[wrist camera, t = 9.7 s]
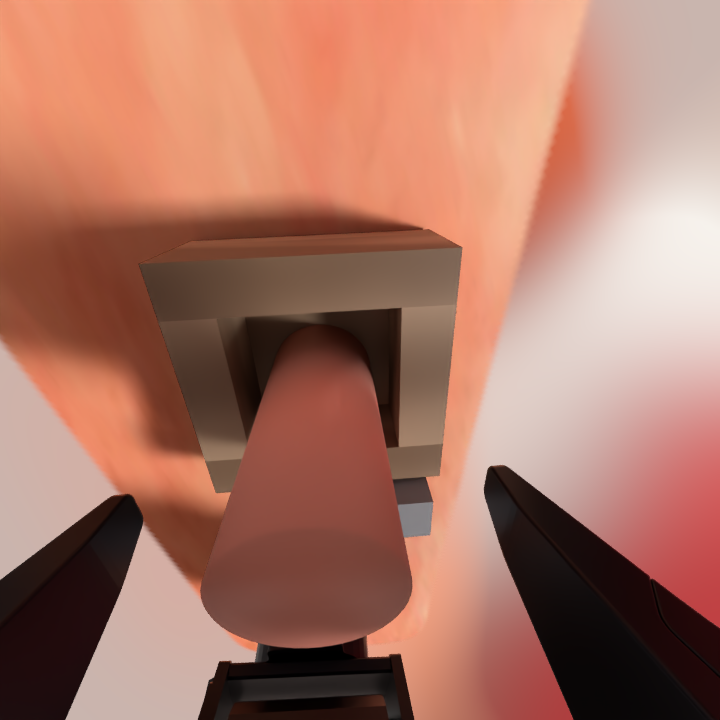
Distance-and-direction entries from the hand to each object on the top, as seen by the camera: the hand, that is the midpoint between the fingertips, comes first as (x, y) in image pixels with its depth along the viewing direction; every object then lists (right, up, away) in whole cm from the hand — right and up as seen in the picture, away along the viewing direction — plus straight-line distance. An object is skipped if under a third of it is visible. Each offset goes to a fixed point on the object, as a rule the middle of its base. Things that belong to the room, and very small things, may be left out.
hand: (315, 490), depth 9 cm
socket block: (-1, +4, +6) cm, 8 cm away
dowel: (0, +3, +6) cm, 7 cm away
